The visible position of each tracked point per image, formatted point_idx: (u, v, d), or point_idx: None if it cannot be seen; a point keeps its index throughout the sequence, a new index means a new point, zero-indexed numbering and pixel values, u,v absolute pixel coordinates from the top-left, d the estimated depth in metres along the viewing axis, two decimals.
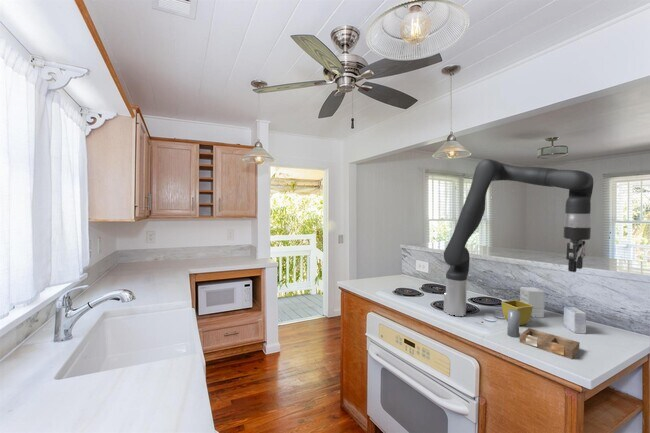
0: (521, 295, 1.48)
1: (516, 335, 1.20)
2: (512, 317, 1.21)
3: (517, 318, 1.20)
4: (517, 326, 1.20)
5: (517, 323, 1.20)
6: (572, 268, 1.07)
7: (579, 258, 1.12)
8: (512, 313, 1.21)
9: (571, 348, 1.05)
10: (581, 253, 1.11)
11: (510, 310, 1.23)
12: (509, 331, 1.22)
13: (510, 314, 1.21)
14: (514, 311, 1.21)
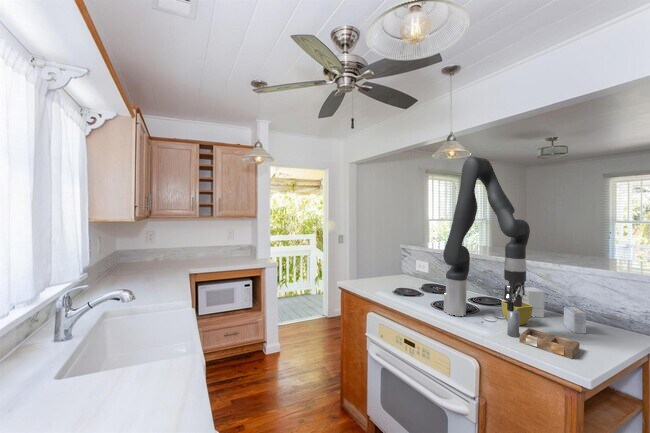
0: None
1: (516, 335, 1.20)
2: (512, 317, 1.21)
3: (517, 318, 1.20)
4: (517, 326, 1.20)
5: (517, 323, 1.20)
6: (510, 308, 1.18)
7: (519, 297, 1.24)
8: (512, 313, 1.21)
9: (571, 348, 1.05)
10: (520, 293, 1.22)
11: None
12: (509, 331, 1.22)
13: (510, 314, 1.21)
14: (514, 311, 1.21)
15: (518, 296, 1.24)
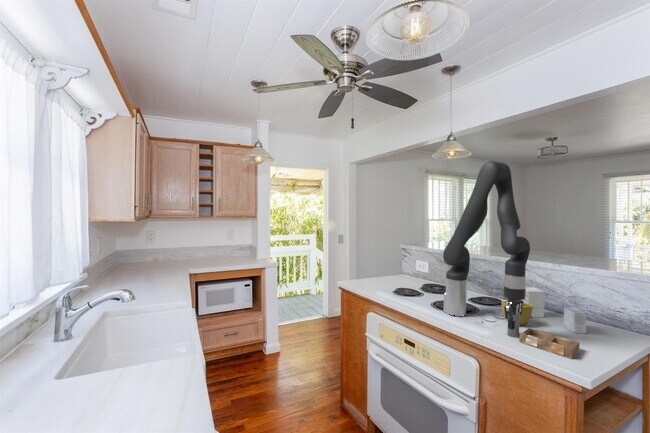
0: None
1: (516, 335, 1.20)
2: None
3: (517, 318, 1.20)
4: (517, 326, 1.20)
5: (517, 323, 1.20)
6: (510, 326, 1.20)
7: None
8: None
9: (571, 348, 1.05)
10: None
11: None
12: (509, 331, 1.22)
13: None
14: None
15: None
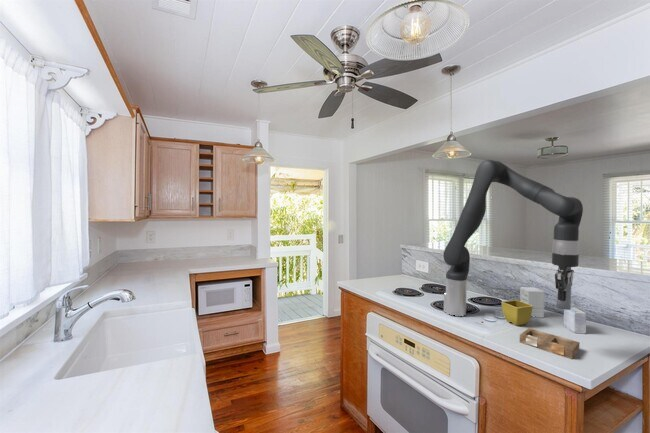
0: (521, 295, 1.48)
1: (568, 307, 1.07)
2: None
3: (569, 288, 1.07)
4: (569, 297, 1.07)
5: (569, 294, 1.07)
6: (561, 297, 1.07)
7: None
8: None
9: (571, 348, 1.05)
10: (568, 281, 1.09)
11: None
12: (559, 303, 1.09)
13: (560, 284, 1.08)
14: None
15: None
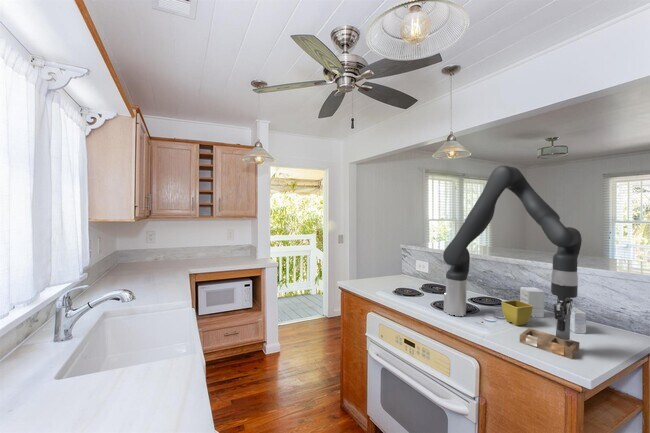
0: (521, 295, 1.48)
1: (567, 337, 1.08)
2: None
3: (568, 318, 1.07)
4: (568, 327, 1.07)
5: (568, 324, 1.07)
6: (561, 328, 1.07)
7: None
8: None
9: (571, 348, 1.05)
10: None
11: None
12: (558, 333, 1.09)
13: None
14: None
15: None
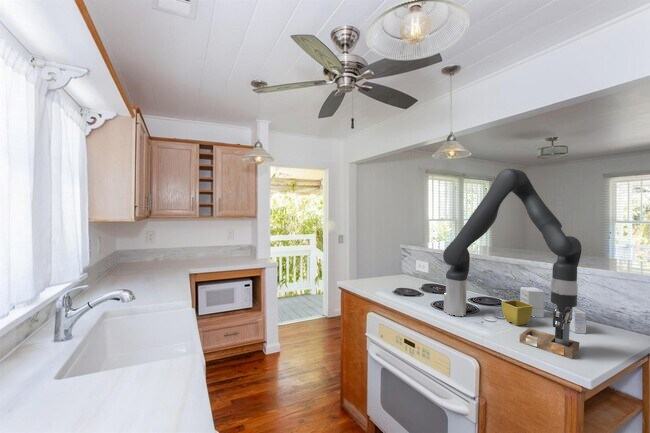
0: (521, 295, 1.48)
1: None
2: None
3: (567, 331, 1.08)
4: (567, 340, 1.08)
5: (567, 337, 1.08)
6: (559, 336, 1.06)
7: (566, 322, 1.12)
8: None
9: (571, 348, 1.05)
10: (568, 318, 1.10)
11: (558, 322, 1.10)
12: None
13: None
14: None
15: None
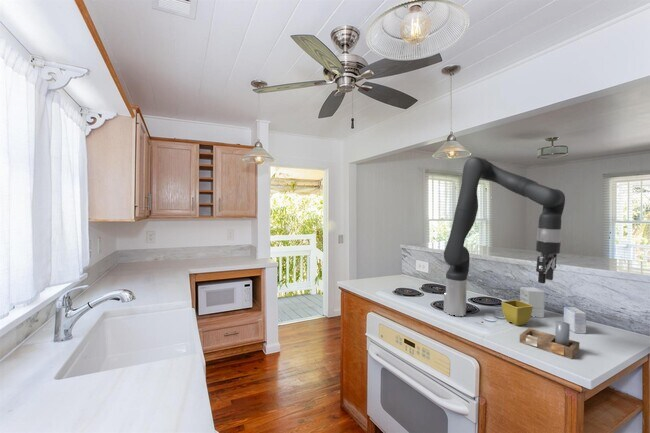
0: (521, 295, 1.48)
1: None
2: (561, 330, 1.08)
3: (567, 331, 1.07)
4: (567, 340, 1.08)
5: (567, 337, 1.08)
6: (541, 280, 1.14)
7: (550, 270, 1.20)
8: (561, 326, 1.08)
9: (571, 348, 1.05)
10: (552, 265, 1.18)
11: (558, 322, 1.10)
12: None
13: (558, 327, 1.09)
14: (563, 323, 1.09)
15: (549, 269, 1.20)
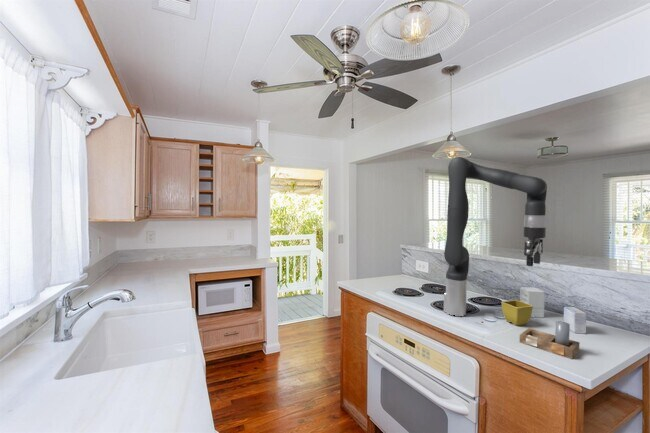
0: (521, 295, 1.48)
1: None
2: (561, 330, 1.08)
3: (567, 331, 1.07)
4: (567, 340, 1.08)
5: (567, 337, 1.08)
6: (529, 263, 1.22)
7: (537, 254, 1.28)
8: (561, 326, 1.08)
9: (571, 348, 1.05)
10: (538, 250, 1.26)
11: (558, 322, 1.10)
12: None
13: (558, 327, 1.09)
14: (563, 323, 1.09)
15: (536, 253, 1.28)
